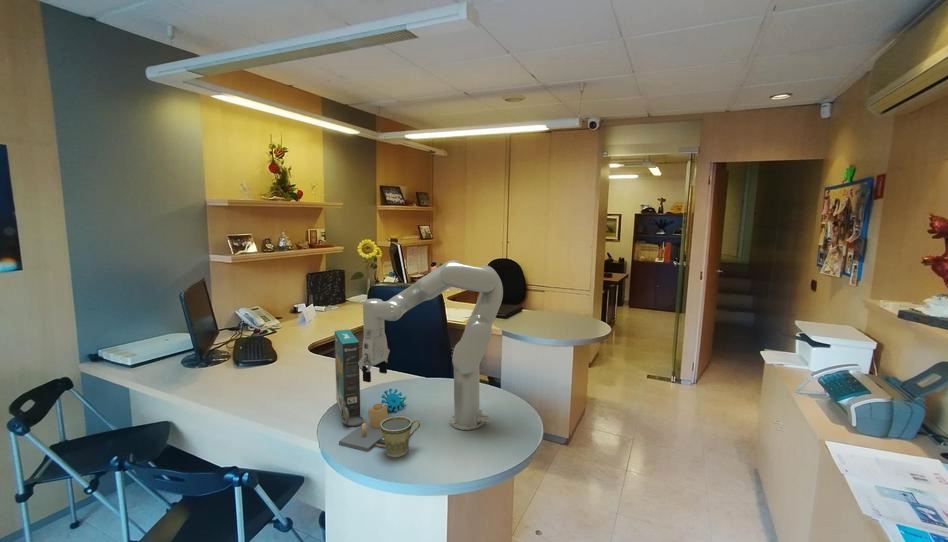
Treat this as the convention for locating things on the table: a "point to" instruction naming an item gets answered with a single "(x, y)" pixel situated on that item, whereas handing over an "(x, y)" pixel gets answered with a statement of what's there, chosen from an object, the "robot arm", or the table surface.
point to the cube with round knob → (377, 415)
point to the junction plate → (363, 438)
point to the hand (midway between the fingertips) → (375, 377)
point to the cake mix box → (347, 371)
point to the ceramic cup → (397, 435)
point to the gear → (393, 400)
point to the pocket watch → (350, 421)
